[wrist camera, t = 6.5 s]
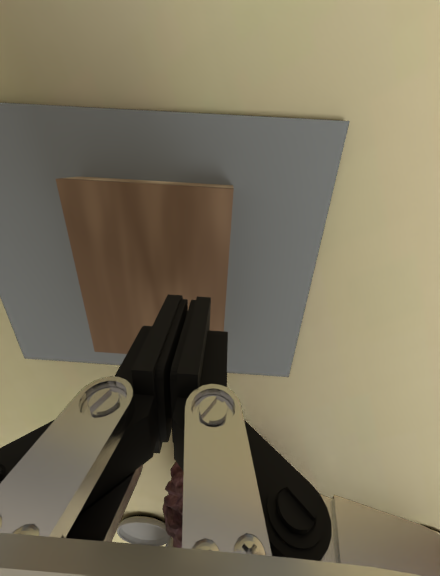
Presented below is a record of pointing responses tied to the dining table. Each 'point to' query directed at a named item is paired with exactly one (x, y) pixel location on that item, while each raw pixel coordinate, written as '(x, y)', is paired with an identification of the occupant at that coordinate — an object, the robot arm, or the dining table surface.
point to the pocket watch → (144, 531)
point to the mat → (171, 168)
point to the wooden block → (145, 250)
